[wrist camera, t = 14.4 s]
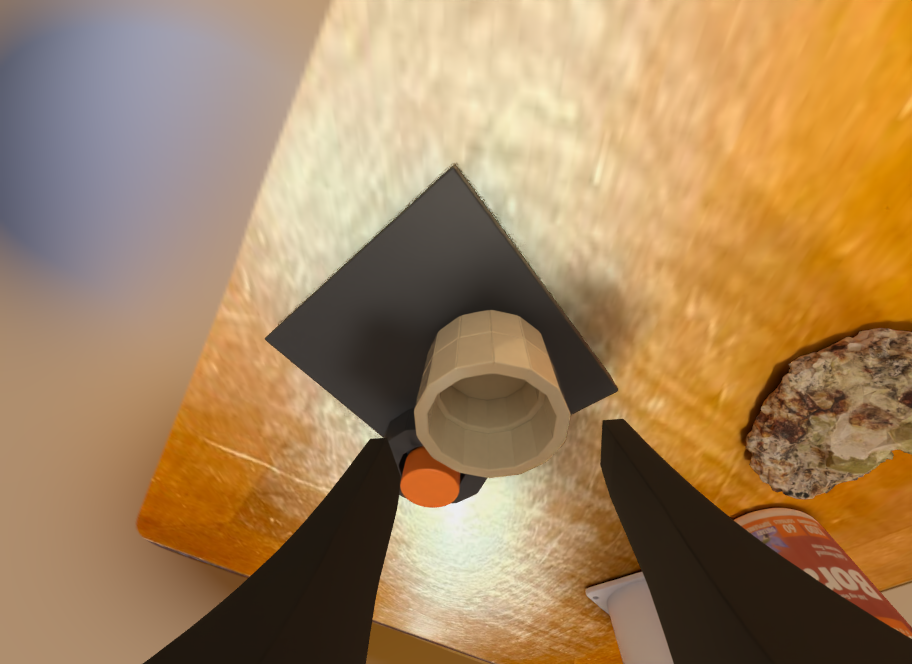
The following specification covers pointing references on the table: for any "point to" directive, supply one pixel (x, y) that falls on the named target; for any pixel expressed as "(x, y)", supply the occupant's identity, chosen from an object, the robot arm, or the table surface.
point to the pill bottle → (820, 559)
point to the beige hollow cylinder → (490, 397)
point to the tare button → (428, 480)
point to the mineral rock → (836, 414)
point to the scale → (426, 314)
